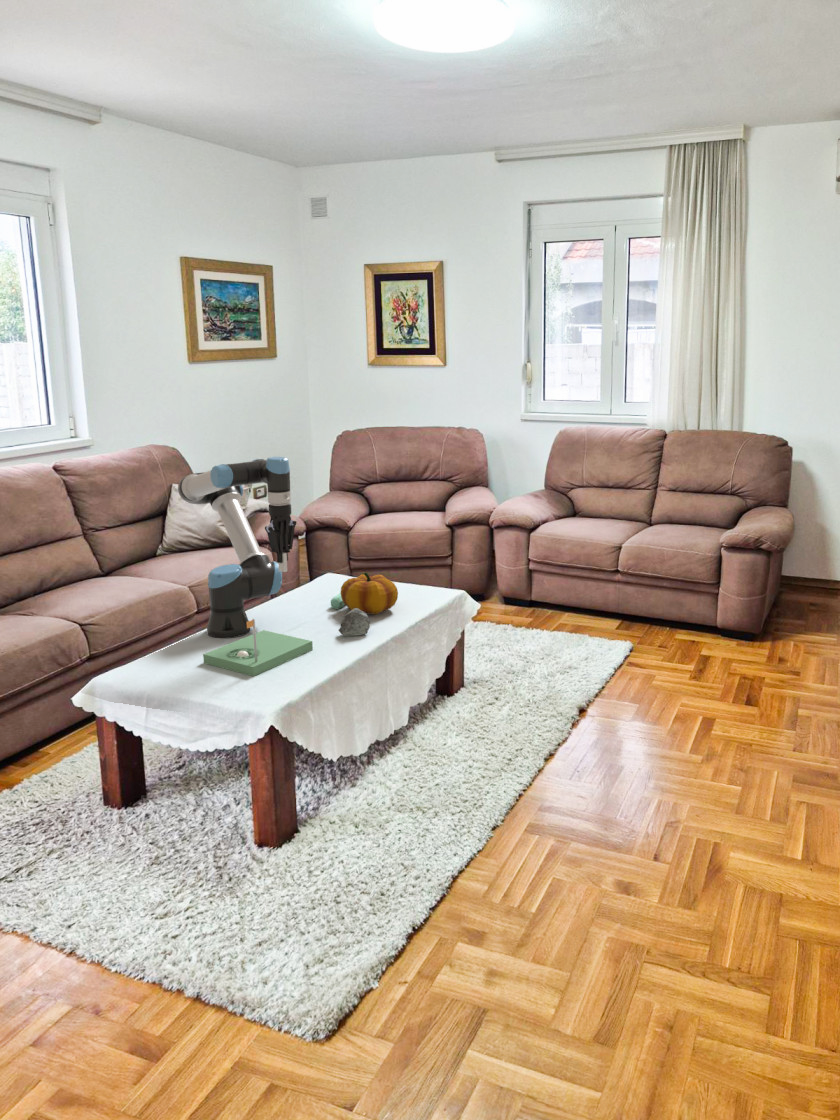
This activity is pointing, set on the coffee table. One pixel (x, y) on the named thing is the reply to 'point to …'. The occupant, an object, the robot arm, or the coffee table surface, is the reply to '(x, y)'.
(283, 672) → the coffee table surface
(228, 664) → the green
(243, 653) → the ball
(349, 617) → the stone
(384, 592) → the decorative pumpkin
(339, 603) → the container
